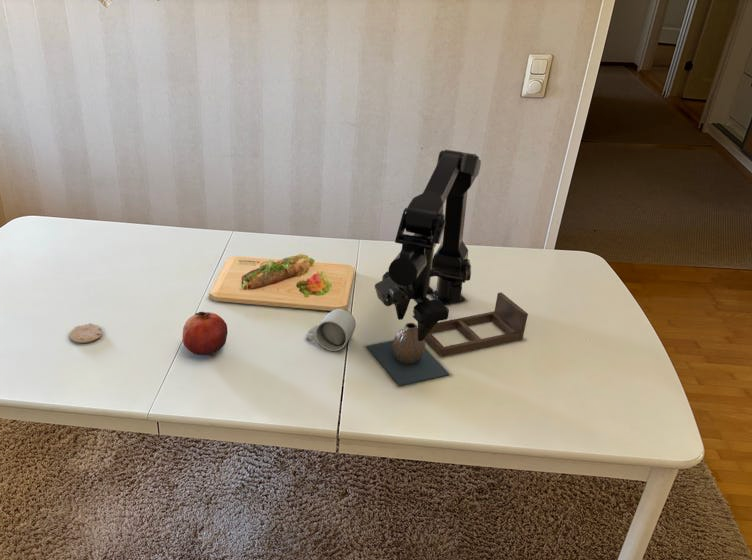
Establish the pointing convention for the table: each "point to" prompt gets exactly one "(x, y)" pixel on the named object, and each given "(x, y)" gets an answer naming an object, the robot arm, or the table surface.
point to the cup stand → (504, 317)
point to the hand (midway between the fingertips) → (410, 329)
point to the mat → (407, 365)
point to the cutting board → (284, 282)
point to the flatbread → (85, 333)
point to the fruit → (204, 333)
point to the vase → (408, 344)
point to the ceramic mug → (334, 330)
